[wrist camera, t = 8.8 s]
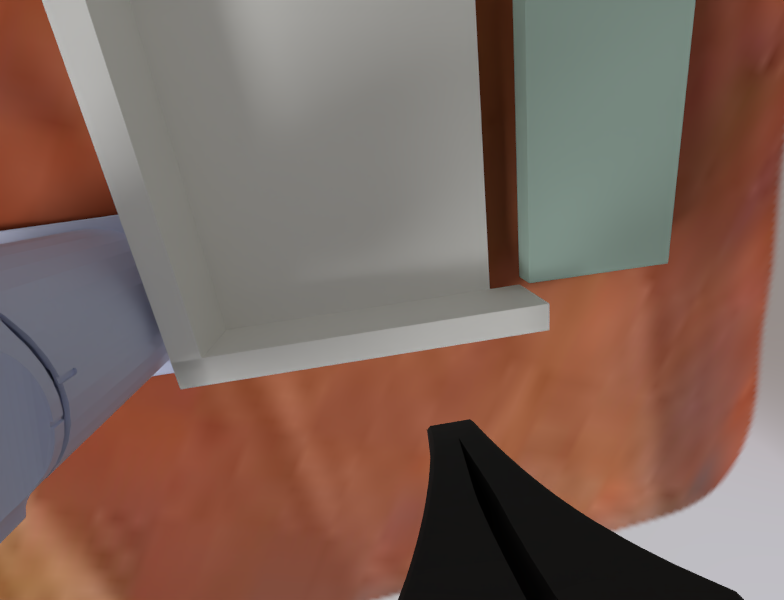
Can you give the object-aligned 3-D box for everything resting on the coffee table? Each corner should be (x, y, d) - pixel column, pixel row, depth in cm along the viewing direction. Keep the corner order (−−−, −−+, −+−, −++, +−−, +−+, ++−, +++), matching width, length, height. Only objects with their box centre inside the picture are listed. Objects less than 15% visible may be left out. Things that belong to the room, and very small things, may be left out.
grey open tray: (218, 343, 19) (180, 389, 15) (62, -170, 13) (-79, -337, 9) (508, 298, 20) (549, 330, 16) (491, -209, 14) (551, -381, 10)
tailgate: (529, 283, 17) (667, 263, 17) (521, -224, 12) (721, -248, 12) (519, 276, 18) (649, 257, 18) (508, -189, 13) (690, -210, 13)
